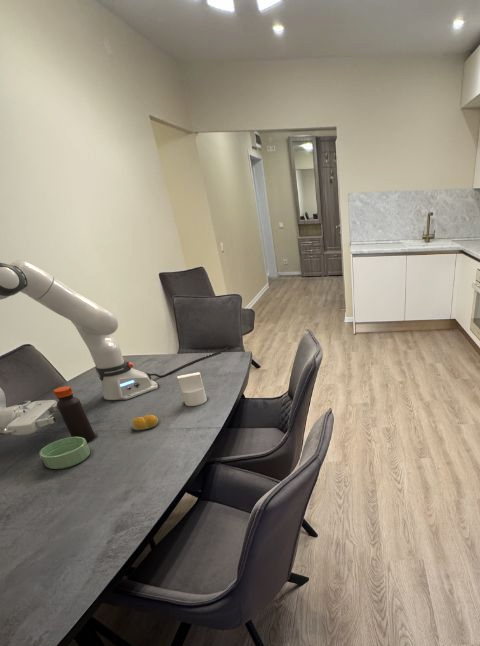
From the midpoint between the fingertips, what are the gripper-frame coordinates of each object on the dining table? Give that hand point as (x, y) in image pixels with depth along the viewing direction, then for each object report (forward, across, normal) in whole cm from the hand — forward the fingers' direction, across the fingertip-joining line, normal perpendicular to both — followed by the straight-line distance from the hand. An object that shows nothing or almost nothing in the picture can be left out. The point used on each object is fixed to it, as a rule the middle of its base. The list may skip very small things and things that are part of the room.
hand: (60, 414), depth 136 cm
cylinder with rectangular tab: (+39, +23, +11) cm, 47 cm away
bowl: (+4, -14, +11) cm, 18 cm away
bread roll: (+24, +5, +11) cm, 27 cm away
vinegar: (+4, 0, +11) cm, 12 cm away
